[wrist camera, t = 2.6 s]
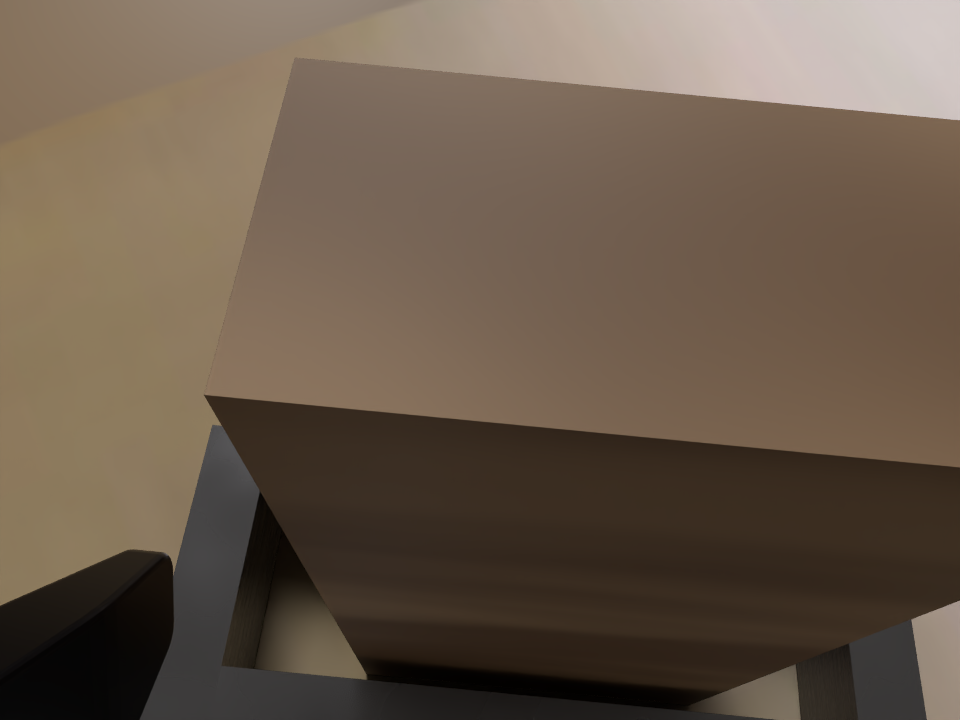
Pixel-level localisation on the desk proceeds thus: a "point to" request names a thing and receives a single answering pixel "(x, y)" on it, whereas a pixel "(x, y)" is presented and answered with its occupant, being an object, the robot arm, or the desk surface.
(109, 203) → the desk surface
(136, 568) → the robot arm
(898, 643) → the dark grey divided tray
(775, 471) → the walnut panel
